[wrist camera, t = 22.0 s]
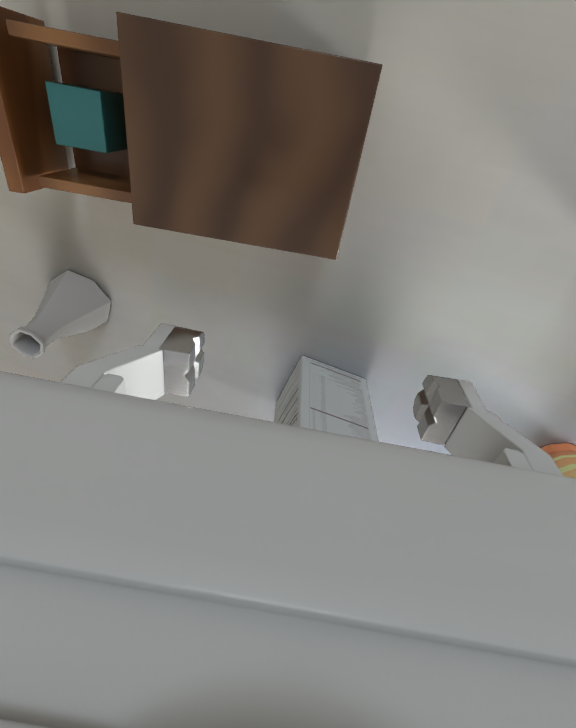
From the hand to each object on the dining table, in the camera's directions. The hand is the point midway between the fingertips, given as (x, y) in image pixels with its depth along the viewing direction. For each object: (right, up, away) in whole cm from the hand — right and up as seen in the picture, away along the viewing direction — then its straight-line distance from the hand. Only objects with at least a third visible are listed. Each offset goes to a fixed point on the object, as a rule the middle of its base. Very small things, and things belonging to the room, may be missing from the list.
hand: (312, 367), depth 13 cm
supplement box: (+3, -4, +36) cm, 36 cm away
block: (-17, +21, +18) cm, 32 cm away
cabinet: (-4, +20, +20) cm, 28 cm away
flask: (-25, +8, +30) cm, 40 cm away
